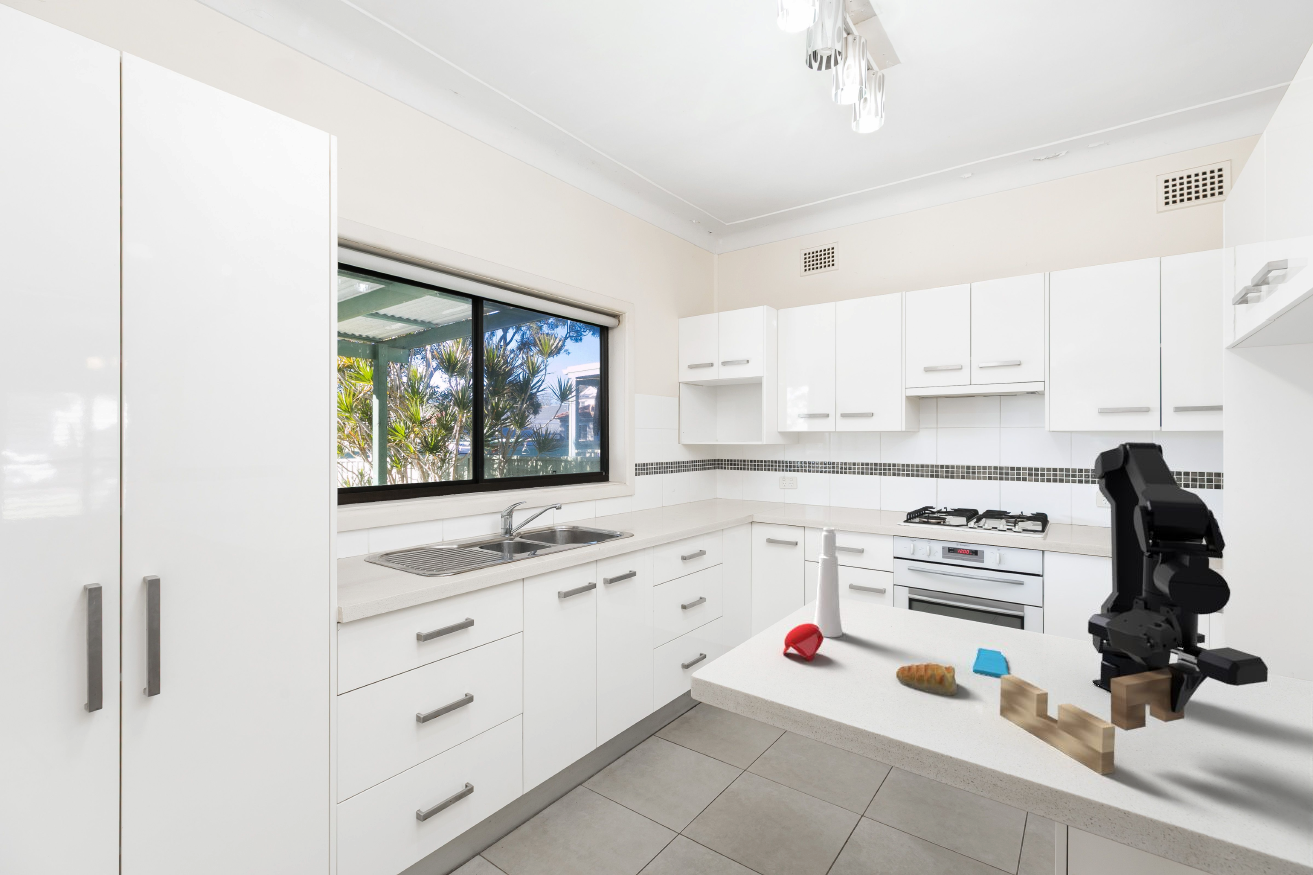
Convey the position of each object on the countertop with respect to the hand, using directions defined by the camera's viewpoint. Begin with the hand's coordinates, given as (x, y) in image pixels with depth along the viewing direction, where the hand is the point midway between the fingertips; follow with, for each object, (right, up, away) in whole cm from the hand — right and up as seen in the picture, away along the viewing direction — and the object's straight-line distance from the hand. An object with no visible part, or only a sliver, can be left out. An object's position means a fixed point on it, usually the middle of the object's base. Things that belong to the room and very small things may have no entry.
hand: (1166, 707), depth 81 cm
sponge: (-7, -6, +29) cm, 31 cm away
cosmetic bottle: (-33, -5, +46) cm, 56 cm away
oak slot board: (-13, -6, +3) cm, 15 cm away
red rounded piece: (-41, -5, +33) cm, 53 cm away
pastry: (-22, -6, +21) cm, 31 cm away
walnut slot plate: (-3, -1, -1) cm, 3 cm away
